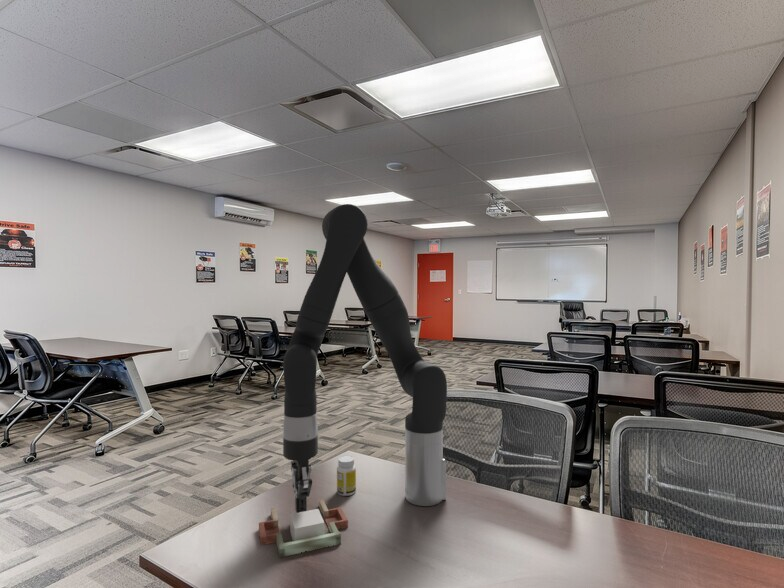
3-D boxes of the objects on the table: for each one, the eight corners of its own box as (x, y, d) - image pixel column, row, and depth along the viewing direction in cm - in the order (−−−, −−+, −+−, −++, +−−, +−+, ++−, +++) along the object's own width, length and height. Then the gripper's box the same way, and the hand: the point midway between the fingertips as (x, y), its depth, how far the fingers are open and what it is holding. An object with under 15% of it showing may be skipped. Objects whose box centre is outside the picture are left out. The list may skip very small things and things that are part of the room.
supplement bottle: (357, 488, 111) (357, 455, 111) (354, 496, 106) (353, 462, 106) (339, 487, 111) (339, 455, 111) (335, 496, 107) (334, 462, 107)
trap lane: (335, 502, 103) (335, 494, 103) (355, 540, 87) (355, 531, 87) (256, 517, 97) (256, 508, 97) (263, 561, 81) (263, 550, 81)
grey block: (318, 527, 93) (318, 508, 93) (324, 542, 87) (324, 522, 87) (290, 533, 91) (290, 514, 91) (294, 548, 85) (294, 528, 85)
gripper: (324, 441, 90) (324, 523, 90) (311, 423, 103) (311, 495, 103) (288, 446, 88) (288, 530, 88) (279, 427, 100) (279, 501, 100)
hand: (300, 511), depth 95 cm, fingers closed
